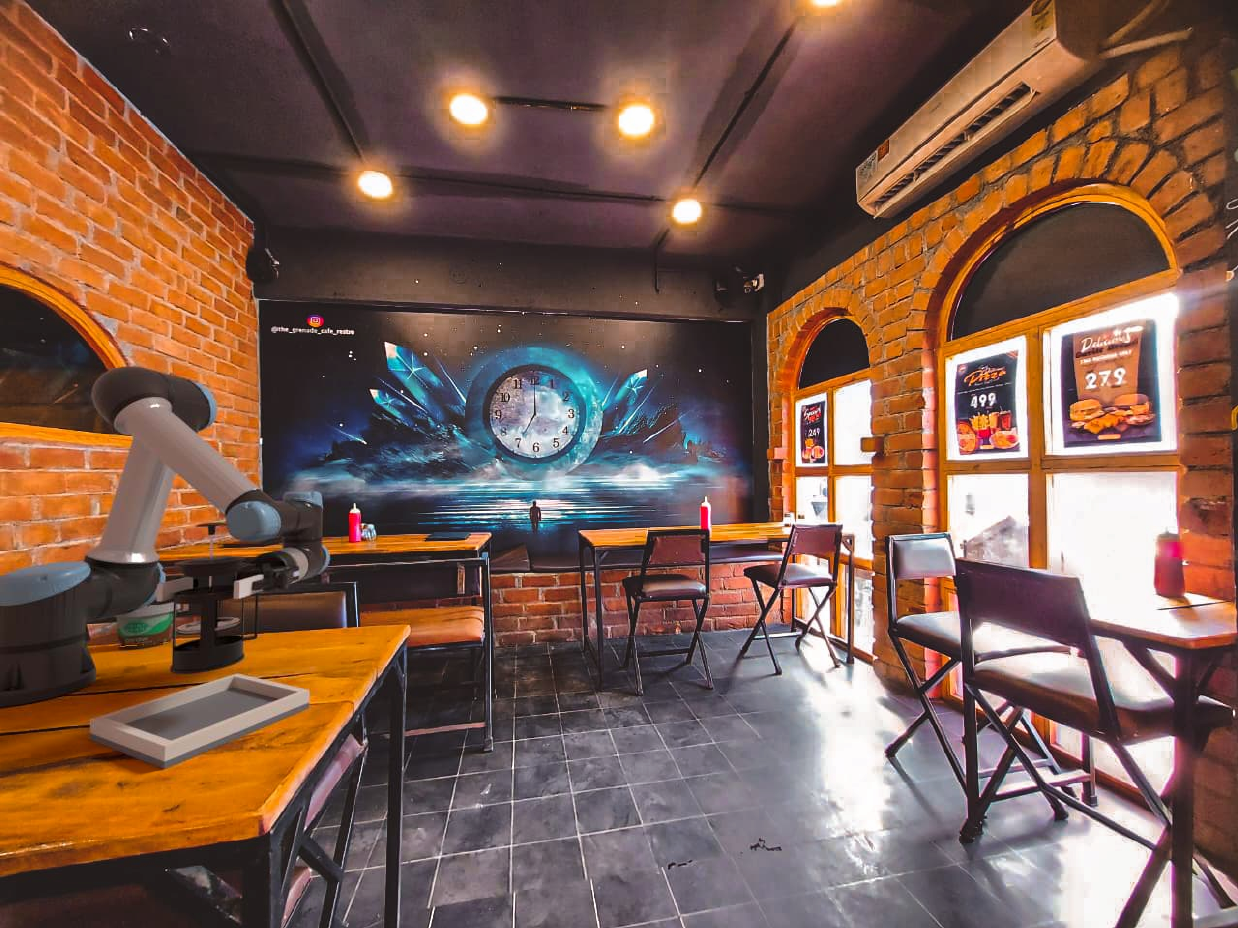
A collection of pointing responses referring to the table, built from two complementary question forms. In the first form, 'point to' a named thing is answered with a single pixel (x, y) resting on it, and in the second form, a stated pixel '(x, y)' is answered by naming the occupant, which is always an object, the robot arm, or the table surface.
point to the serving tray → (197, 718)
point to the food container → (146, 626)
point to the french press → (209, 616)
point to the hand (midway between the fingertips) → (198, 591)
